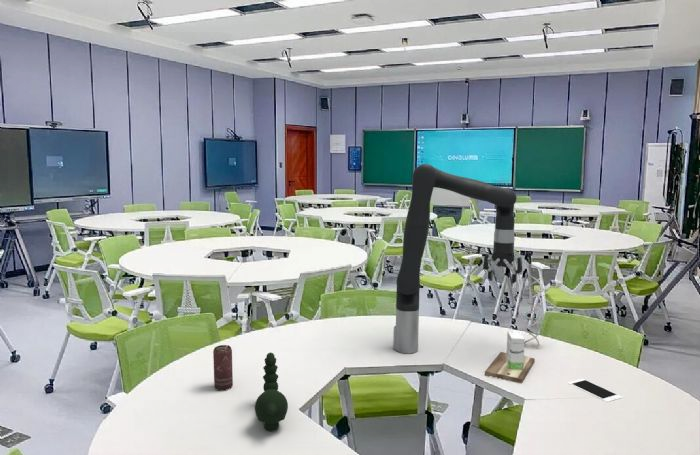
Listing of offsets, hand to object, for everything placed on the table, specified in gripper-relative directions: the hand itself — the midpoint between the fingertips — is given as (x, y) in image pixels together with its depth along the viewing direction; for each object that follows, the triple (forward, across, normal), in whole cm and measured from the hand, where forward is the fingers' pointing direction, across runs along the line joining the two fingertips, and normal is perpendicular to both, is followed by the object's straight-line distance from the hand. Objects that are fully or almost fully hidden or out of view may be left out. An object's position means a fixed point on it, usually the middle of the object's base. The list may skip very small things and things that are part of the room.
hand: (501, 282), depth 205 cm
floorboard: (+30, +7, -10) cm, 32 cm away
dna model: (+30, +9, +18) cm, 36 cm away
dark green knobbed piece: (+30, -46, -85) cm, 101 cm away
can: (+30, -73, -76) cm, 110 cm away
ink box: (+29, +8, -10) cm, 31 cm away
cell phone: (+31, +36, -13) cm, 49 cm away
